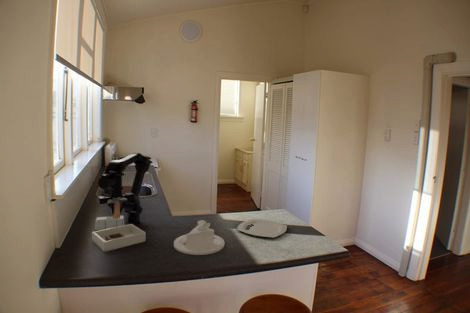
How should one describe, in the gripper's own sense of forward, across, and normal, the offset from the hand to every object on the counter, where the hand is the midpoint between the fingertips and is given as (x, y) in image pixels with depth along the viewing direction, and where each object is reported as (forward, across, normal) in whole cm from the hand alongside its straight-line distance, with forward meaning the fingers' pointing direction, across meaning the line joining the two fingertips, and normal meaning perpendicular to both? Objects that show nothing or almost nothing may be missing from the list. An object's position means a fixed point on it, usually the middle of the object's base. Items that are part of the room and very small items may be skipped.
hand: (116, 213), depth 159 cm
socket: (+10, +6, +13) cm, 17 cm away
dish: (+10, -25, +40) cm, 48 cm away
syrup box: (+7, +7, -11) cm, 15 cm away
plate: (+10, -65, +46) cm, 80 cm away
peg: (+2, 0, 0) cm, 2 cm away
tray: (+10, +4, +13) cm, 17 cm away
